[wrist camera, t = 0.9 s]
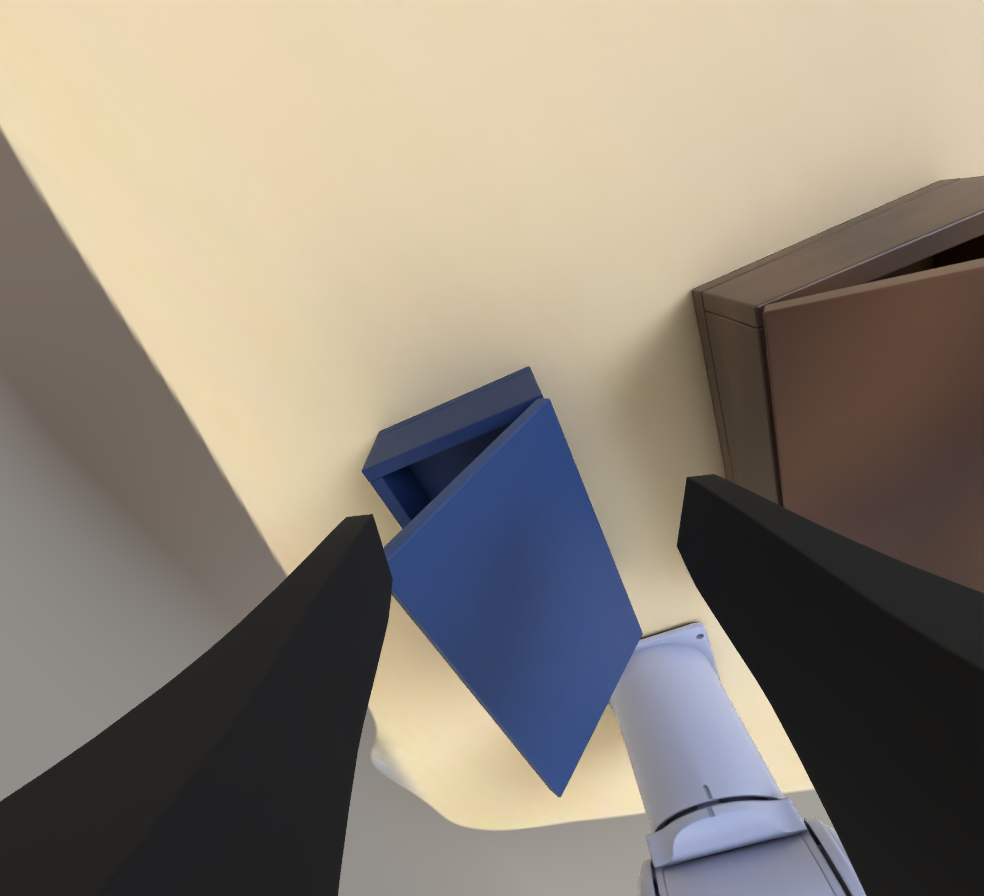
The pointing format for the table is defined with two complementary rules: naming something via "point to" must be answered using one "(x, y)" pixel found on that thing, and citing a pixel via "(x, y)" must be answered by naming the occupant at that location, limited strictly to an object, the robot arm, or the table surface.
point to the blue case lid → (521, 592)
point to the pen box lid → (887, 415)
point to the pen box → (807, 271)
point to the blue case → (443, 443)
